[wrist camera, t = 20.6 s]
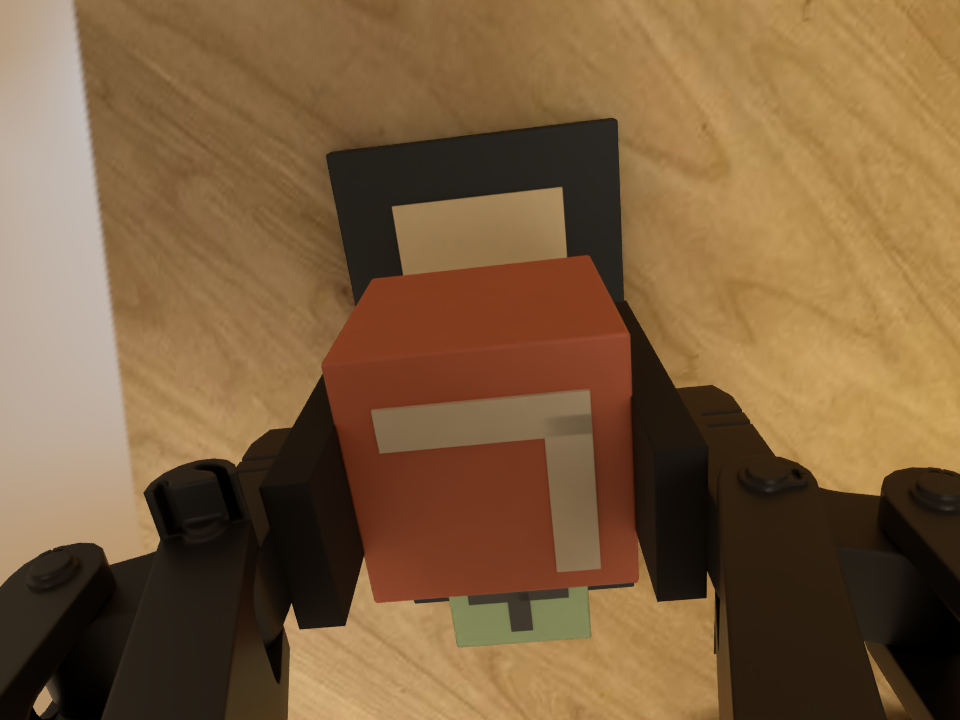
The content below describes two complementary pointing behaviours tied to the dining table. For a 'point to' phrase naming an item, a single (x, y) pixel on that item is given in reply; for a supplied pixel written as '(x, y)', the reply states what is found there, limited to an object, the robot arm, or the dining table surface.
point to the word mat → (482, 205)
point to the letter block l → (488, 430)
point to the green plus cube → (521, 617)
